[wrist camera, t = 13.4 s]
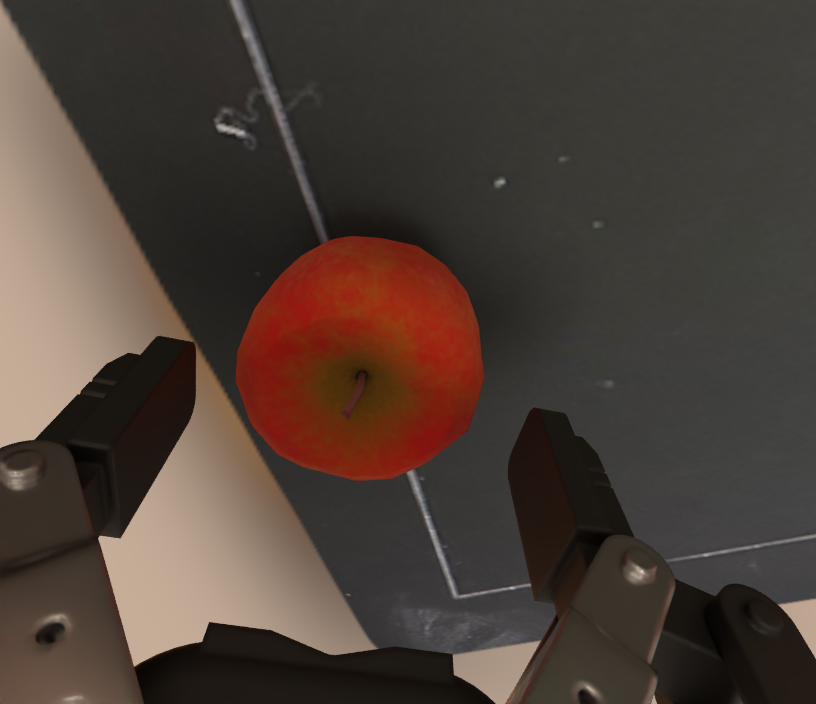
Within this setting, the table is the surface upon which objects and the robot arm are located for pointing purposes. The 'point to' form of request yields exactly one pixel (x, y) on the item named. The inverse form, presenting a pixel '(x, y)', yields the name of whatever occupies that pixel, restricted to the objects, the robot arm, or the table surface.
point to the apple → (362, 359)
